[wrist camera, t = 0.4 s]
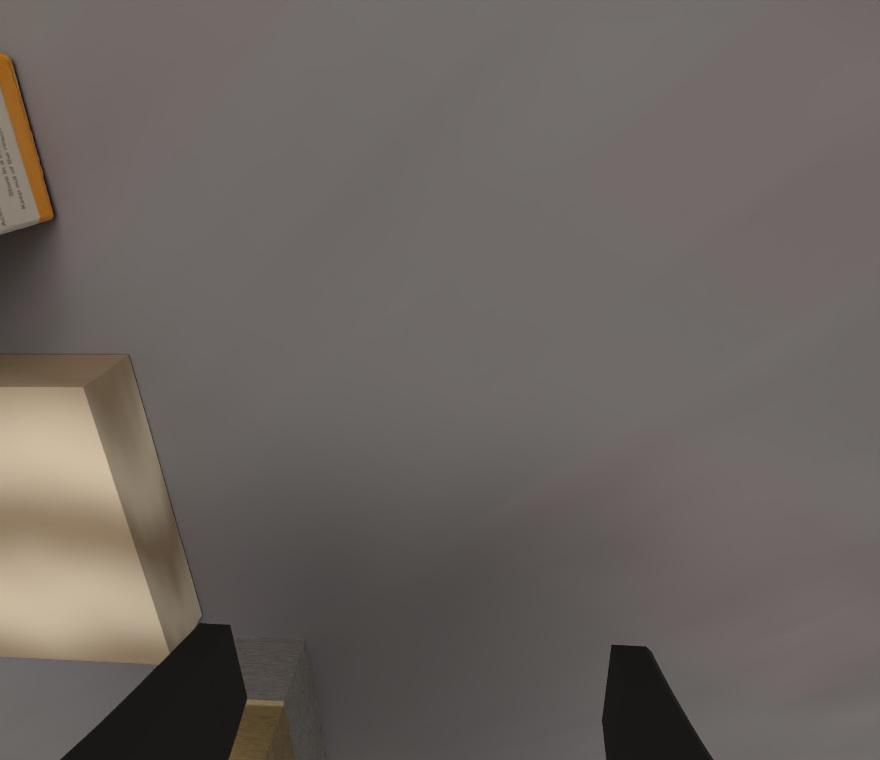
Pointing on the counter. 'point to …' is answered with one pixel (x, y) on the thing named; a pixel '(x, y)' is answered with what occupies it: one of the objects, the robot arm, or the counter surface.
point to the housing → (277, 702)
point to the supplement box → (18, 160)
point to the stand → (85, 517)
